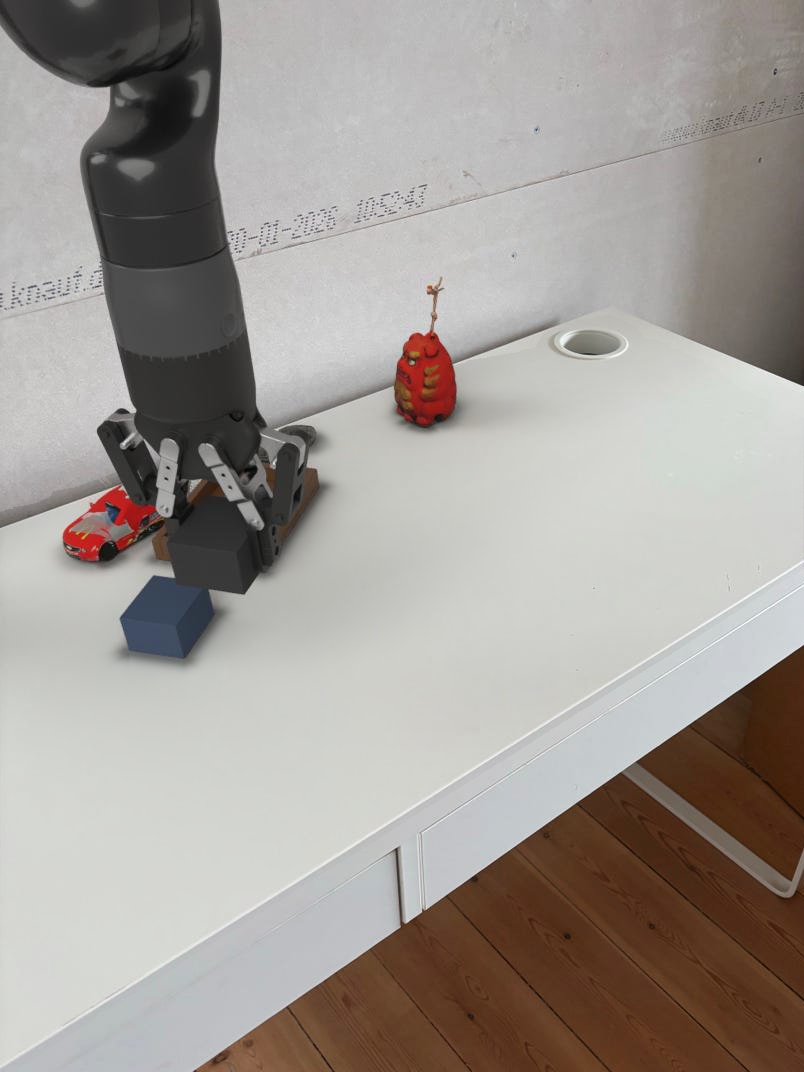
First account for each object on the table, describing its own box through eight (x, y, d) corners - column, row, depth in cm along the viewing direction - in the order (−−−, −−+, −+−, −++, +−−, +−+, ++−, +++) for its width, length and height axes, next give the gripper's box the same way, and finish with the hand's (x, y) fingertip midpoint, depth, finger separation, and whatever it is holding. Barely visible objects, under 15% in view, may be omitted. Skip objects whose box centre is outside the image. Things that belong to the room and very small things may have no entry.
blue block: (128, 650, 84) (118, 618, 82) (162, 606, 89) (153, 574, 86) (184, 659, 83) (175, 626, 81) (214, 614, 88) (207, 582, 86)
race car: (90, 574, 93) (78, 538, 90) (54, 553, 95) (41, 518, 92) (201, 509, 100) (192, 474, 98) (165, 492, 103) (156, 457, 100)
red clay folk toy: (384, 409, 116) (373, 279, 106) (436, 392, 119) (430, 265, 109) (418, 435, 111) (411, 302, 102) (472, 418, 114) (469, 286, 104)
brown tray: (156, 559, 94) (151, 539, 93) (223, 475, 105) (219, 457, 104) (262, 573, 92) (259, 553, 91) (319, 487, 103) (317, 468, 102)
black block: (176, 584, 69) (165, 542, 66) (214, 535, 73) (205, 494, 71) (244, 595, 68) (236, 552, 65) (279, 545, 72) (272, 503, 70)
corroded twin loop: (328, 442, 110) (327, 434, 109) (269, 470, 106) (267, 461, 105) (299, 427, 113) (298, 418, 112) (240, 454, 108) (238, 445, 108)
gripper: (318, 310, 61) (344, 544, 72) (102, 289, 63) (159, 517, 74) (269, 364, 55) (305, 608, 66) (35, 338, 58) (107, 577, 69)
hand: (227, 559), depth 70 cm, fingers closed on black block, 5 cm apart
